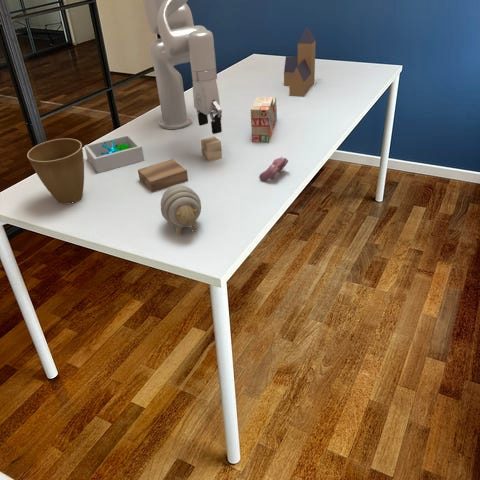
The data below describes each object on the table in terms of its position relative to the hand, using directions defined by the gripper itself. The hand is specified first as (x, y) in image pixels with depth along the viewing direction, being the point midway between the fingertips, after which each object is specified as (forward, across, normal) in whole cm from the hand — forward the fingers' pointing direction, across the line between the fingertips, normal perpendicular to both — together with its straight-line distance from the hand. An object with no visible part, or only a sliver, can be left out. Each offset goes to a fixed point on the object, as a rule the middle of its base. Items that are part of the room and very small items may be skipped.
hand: (210, 128), depth 156 cm
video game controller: (+11, +23, +10) cm, 27 cm away
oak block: (+10, -1, 0) cm, 10 cm away
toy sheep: (+12, +32, -25) cm, 42 cm away
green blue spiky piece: (+10, -20, -28) cm, 36 cm away
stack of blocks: (+10, -9, +26) cm, 30 cm away
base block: (+11, +5, -20) cm, 23 cm away
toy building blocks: (+9, -42, +62) cm, 76 cm away
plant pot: (+11, -1, -48) cm, 49 cm away
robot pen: (+10, -19, -28) cm, 35 cm away
